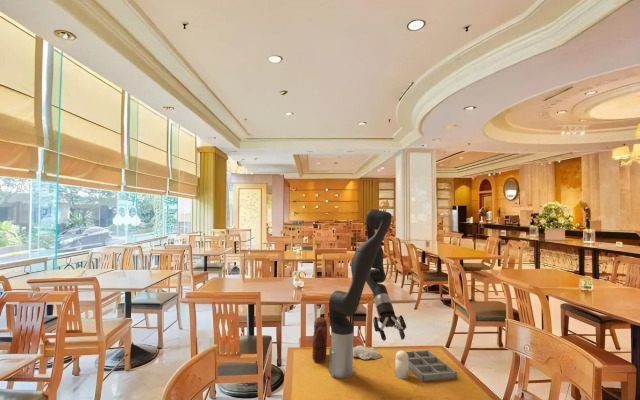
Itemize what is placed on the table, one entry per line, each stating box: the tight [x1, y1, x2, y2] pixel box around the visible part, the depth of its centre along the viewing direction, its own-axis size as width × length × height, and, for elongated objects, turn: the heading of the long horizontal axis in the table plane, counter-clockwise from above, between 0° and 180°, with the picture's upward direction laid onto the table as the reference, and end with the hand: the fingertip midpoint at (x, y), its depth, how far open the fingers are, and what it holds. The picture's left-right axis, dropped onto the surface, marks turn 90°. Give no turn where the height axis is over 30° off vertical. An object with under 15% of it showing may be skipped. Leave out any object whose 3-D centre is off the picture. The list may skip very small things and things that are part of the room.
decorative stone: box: [353, 344, 383, 361], centre depth 157 cm, size 11×4×15 cm
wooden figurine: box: [312, 316, 328, 364], centre depth 153 cm, size 12×6×18 cm, turn 3°
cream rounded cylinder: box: [394, 350, 409, 380], centre depth 138 cm, size 5×5×10 cm
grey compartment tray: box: [405, 349, 458, 383], centre depth 145 cm, size 15×22×3 cm, turn 12°
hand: (394, 339), depth 146 cm, fingers open, 8 cm apart
